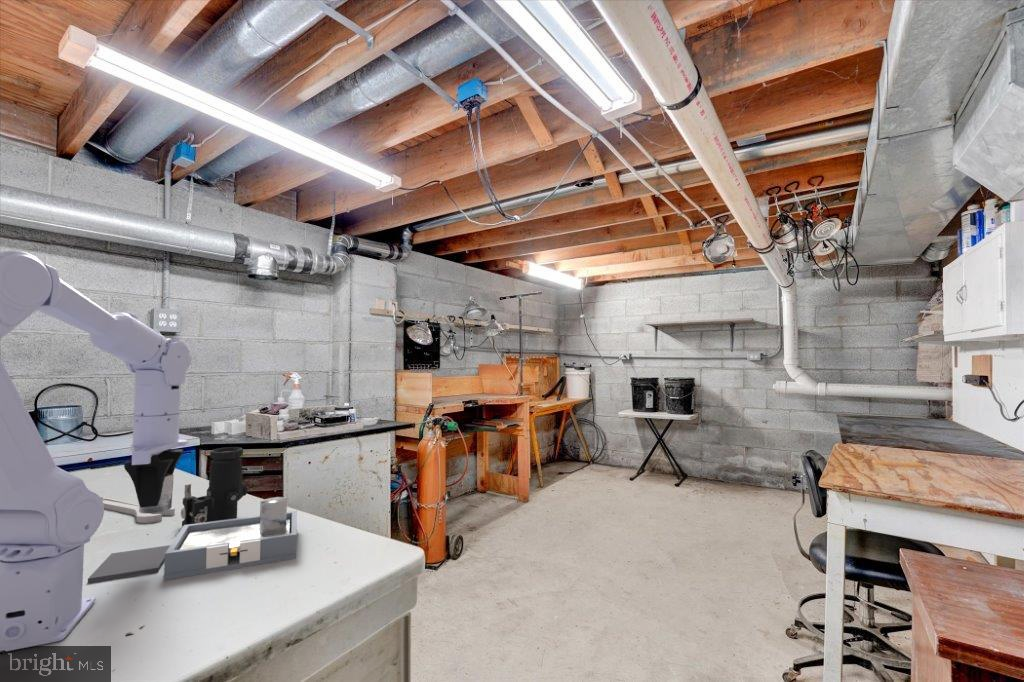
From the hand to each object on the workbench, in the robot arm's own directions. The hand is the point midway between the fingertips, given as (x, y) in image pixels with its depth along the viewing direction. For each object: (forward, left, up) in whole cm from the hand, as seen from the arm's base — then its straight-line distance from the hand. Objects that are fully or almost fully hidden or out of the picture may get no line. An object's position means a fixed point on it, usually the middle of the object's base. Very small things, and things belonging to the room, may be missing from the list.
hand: (153, 501), depth 70 cm
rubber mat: (+1, +2, -9) cm, 10 cm away
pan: (-2, -12, -7) cm, 14 cm away
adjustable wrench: (+32, +11, -10) cm, 35 cm away
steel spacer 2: (-1, -17, -7) cm, 18 cm away
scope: (+15, -7, -10) cm, 19 cm away
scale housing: (-1, -12, -9) cm, 15 cm away
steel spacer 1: (0, 0, -1) cm, 1 cm away
